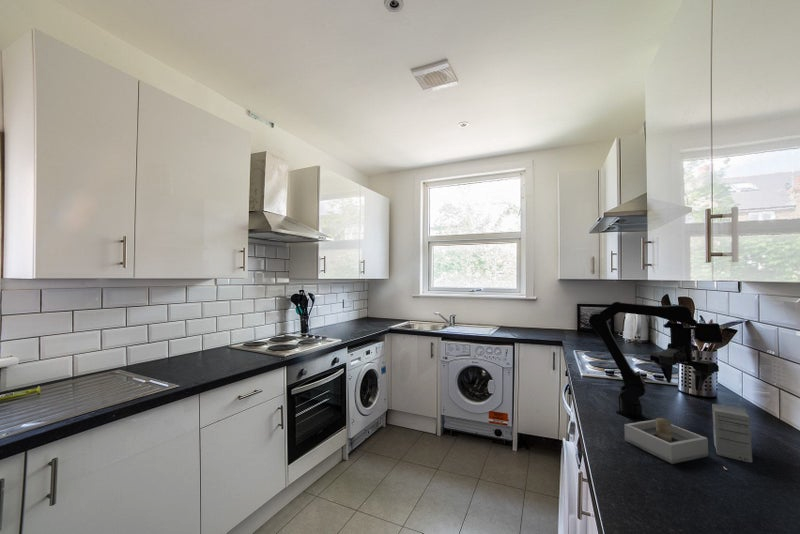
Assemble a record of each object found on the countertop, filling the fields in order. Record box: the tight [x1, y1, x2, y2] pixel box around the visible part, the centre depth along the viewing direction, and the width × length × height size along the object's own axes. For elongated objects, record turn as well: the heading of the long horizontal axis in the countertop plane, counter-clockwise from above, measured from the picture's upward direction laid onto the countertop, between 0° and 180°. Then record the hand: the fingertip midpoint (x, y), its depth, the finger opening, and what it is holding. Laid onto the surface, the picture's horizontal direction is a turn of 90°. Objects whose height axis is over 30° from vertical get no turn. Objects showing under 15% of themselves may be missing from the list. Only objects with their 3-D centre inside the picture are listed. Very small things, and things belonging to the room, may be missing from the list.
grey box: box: [624, 418, 709, 465], centre depth 100 cm, size 14×14×5 cm
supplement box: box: [711, 403, 753, 464], centre depth 97 cm, size 7×7×13 cm
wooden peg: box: [655, 417, 672, 442], centre depth 100 cm, size 4×4×7 cm
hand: (682, 386), depth 116 cm, fingers open, 9 cm apart
